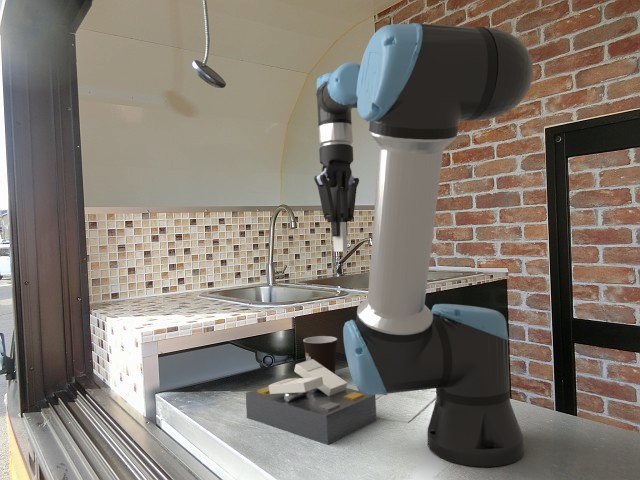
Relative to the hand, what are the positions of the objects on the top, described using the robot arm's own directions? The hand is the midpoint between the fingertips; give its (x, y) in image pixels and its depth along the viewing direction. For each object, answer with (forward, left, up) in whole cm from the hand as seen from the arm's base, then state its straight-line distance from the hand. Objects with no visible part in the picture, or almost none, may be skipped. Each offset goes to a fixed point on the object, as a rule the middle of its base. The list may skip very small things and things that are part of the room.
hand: (340, 251), depth 111 cm
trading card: (-12, -3, -33) cm, 35 cm away
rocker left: (-3, +19, -25) cm, 31 cm away
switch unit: (-3, +15, -32) cm, 36 cm away
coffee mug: (+15, -8, -33) cm, 37 cm away
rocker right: (-3, +12, -25) cm, 28 cm away
